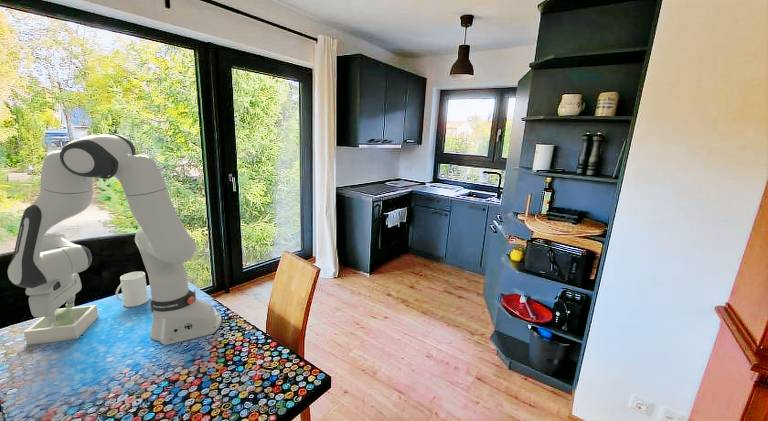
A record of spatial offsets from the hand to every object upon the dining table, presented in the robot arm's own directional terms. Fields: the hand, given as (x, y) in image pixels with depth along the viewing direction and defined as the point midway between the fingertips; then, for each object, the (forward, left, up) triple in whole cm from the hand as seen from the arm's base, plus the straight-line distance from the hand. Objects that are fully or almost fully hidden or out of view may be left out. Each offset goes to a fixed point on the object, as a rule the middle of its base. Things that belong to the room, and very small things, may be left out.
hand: (62, 314), depth 108 cm
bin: (0, 0, -6) cm, 6 cm away
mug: (-14, -15, -6) cm, 22 cm away
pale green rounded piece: (0, 0, -5) cm, 5 cm away
